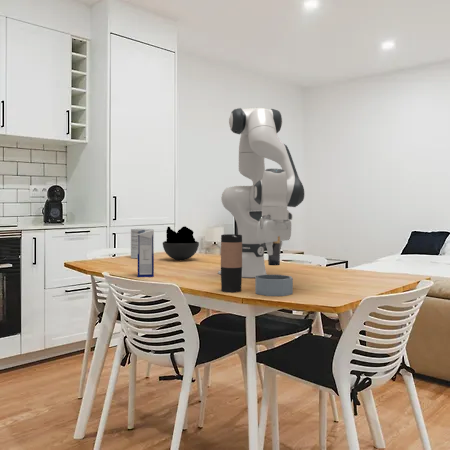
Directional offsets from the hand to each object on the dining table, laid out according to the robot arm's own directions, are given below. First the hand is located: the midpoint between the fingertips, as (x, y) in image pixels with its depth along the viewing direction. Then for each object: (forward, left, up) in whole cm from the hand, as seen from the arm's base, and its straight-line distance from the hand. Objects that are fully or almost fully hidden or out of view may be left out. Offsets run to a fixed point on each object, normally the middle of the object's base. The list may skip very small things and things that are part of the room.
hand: (274, 254), depth 172 cm
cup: (0, 0, -13) cm, 13 cm away
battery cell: (0, 0, -4) cm, 4 cm away
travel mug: (-13, -8, -14) cm, 21 cm away
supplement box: (-124, +31, -14) cm, 129 cm away
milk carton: (-64, -9, -14) cm, 66 cm away
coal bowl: (-100, +40, -14) cm, 109 cm away
